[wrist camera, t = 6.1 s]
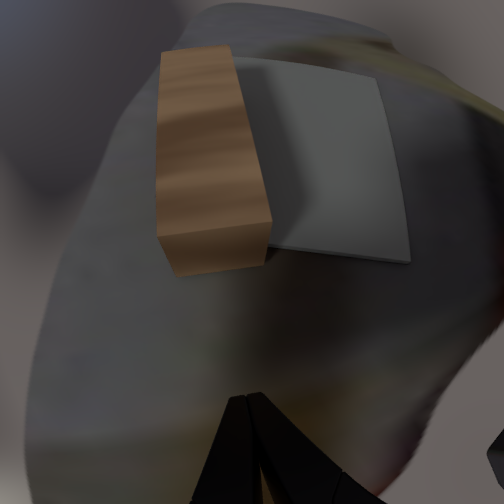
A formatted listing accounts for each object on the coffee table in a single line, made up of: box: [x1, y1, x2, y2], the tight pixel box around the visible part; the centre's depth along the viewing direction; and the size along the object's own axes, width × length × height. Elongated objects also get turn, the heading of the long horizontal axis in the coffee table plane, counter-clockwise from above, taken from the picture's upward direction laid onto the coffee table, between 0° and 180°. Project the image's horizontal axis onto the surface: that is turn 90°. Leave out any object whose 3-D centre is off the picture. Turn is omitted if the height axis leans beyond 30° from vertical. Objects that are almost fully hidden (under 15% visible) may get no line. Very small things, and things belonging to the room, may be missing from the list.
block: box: [156, 45, 273, 277], centre depth 17 cm, size 4×4×14 cm
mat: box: [232, 57, 411, 264], centre depth 21 cm, size 18×14×1 cm
